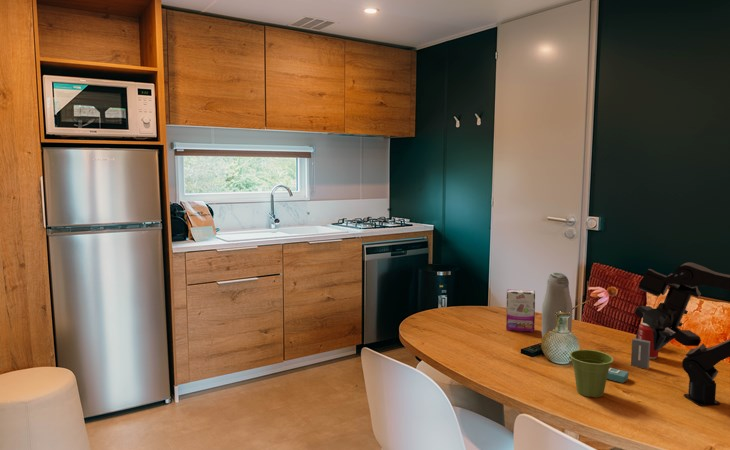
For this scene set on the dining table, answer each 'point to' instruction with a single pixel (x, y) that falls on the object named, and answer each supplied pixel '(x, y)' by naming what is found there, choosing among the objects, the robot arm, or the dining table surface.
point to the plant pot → (591, 371)
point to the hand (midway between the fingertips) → (655, 350)
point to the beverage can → (647, 338)
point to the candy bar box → (520, 310)
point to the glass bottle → (556, 301)
